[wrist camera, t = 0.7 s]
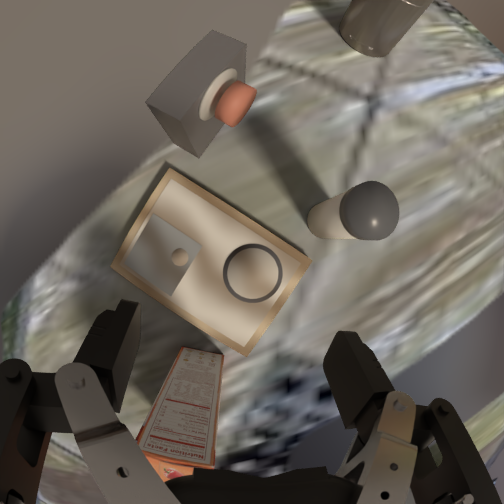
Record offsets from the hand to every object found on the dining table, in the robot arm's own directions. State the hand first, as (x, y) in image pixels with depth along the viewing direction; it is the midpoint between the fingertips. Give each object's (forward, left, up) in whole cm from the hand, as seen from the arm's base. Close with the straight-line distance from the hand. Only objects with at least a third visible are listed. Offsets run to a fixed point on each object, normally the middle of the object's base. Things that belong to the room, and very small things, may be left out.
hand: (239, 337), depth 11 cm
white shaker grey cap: (-11, +5, -24) cm, 26 cm away
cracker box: (+17, +4, -24) cm, 30 cm away
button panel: (-14, -14, -24) cm, 30 cm away
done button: (-14, -10, -17) cm, 24 cm away
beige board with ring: (+1, -4, -24) cm, 24 cm away
